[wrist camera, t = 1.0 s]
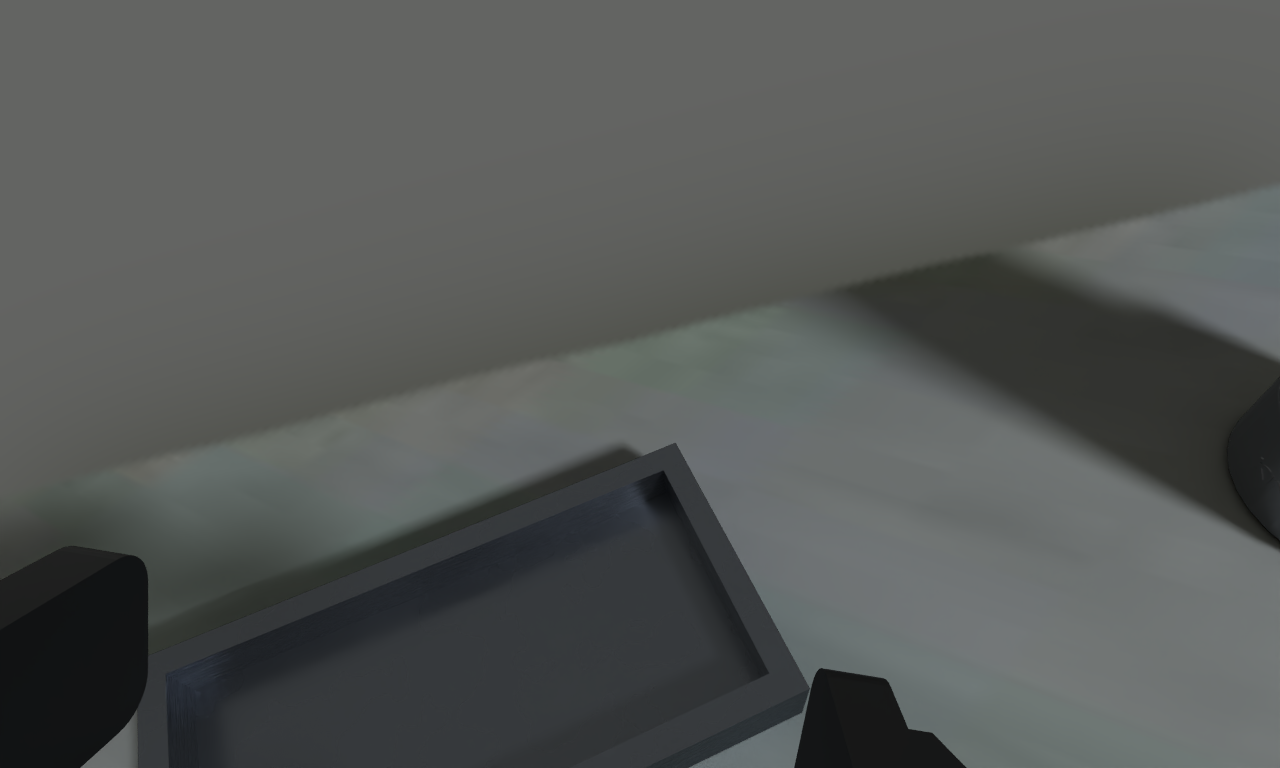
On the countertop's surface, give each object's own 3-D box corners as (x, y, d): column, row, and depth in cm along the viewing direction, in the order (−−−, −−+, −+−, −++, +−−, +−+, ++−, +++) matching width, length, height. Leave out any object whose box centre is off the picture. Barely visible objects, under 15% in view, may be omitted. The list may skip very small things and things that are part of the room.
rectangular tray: (678, 478, 35) (675, 442, 33) (802, 712, 29) (809, 688, 27) (181, 684, 31) (136, 660, 29) (196, 1006, 25) (142, 1009, 23)
